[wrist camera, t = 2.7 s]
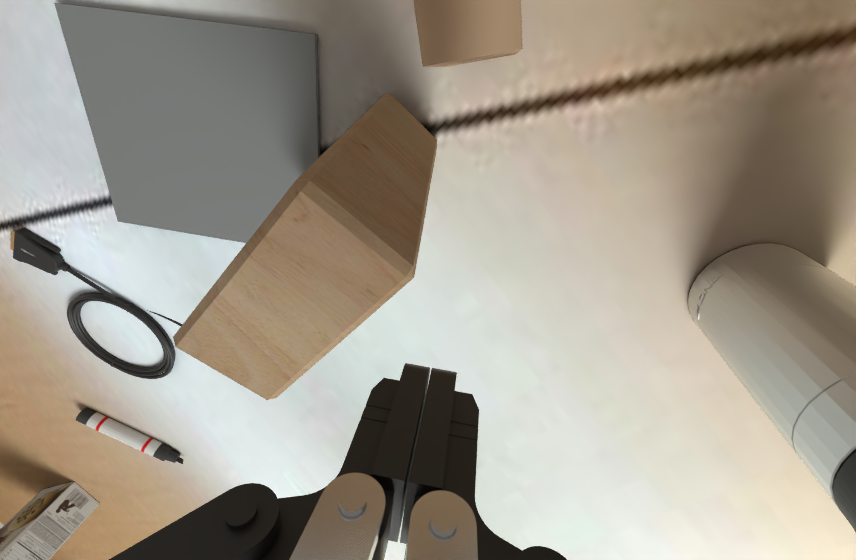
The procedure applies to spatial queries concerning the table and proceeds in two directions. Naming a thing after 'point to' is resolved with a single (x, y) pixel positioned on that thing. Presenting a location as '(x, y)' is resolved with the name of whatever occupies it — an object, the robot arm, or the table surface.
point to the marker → (127, 435)
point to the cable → (50, 260)
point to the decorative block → (320, 256)
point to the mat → (195, 116)
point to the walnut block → (467, 30)
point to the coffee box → (46, 523)
